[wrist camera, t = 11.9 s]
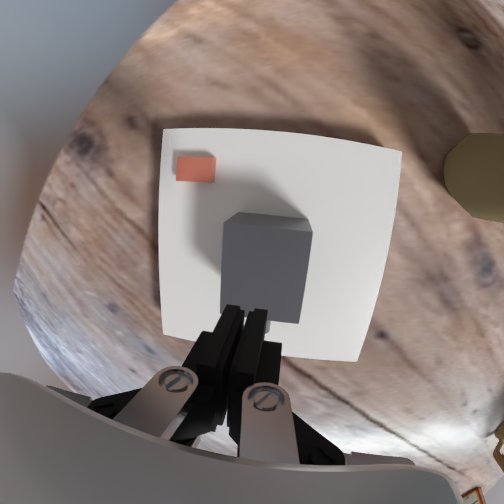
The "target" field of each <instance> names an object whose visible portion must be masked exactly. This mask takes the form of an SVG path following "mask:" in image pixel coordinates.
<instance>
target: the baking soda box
mask: <svg viewBox="0 0 504 504" xmlns="http://www.w3.org/2000/svg"><path fill="white" fill-rule="evenodd" d="M462 499H463V501H464V504H486V503H485V500H484V496H483V493H482V490H481V487H477V488H475V489H474V490H472V491H471V492H469V493H467V494H466V495H464V496H463V497H462Z"/></svg>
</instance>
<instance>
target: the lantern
mask: <svg viewBox="0 0 504 504" xmlns="http://www.w3.org/2000/svg"><path fill="white" fill-rule="evenodd" d="M495 436H496V438H498V439H499V442H498V444H497V446H496V448H495V450H494V452H493V457H494V458H495V460H496V461H497V463H498V464H499V466H500V467H501V469H502V471H503V472H504V455H503V454H502V455H501V454H500V448H501V447H502V445H503V444H504V422H503V423H502V424H501V425H500V426H499V428H498V429H497V431H496V433H495Z"/></svg>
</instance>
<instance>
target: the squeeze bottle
mask: <svg viewBox="0 0 504 504" xmlns="http://www.w3.org/2000/svg"><path fill="white" fill-rule="evenodd" d="M443 176H444V181H445V185H446V187H447V189H448V191H449V193H450V195H451V196H452V197H453V198H454V199H455V200H456V201H457V202H458V203H459V204H460V205H461V206H462V207H463V208H464V209H465V210H466V211H467V212H468V213H469V214H470V215H471V216H472V217H475V218H479V219H483V220H489V221H495V222H501V223H504V134H493V133H475V134H469V135H467V136H466V137H465V138H464V139H463V140H461V141H460V142H459V143H458V144H457V145H456V146H455V147H454V148H453V149H452V150H451V151H450V152H449V153H448V154H447V156H446V159H445V161H444V168H443Z"/></svg>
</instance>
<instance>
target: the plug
mask: <svg viewBox="0 0 504 504" xmlns="http://www.w3.org/2000/svg"><path fill="white" fill-rule="evenodd" d="M312 236H313V231H312V228H311V225H310V222H309V220H308V219H302V218H294V217H285V216H275V215H265V214H255V213H245V212H238V213H236V214H235V215H233V216H232V217H231V218H229V219H228V220H226V221H225V222H224V223H223V240H222V262H221V288H220V314H222V312H223V311H224V309H225V307H226V305H227V304H230V305H237V306H240V310H245V317H246V318H247V316H248V313H249V311H254V309H255V308H258V309H265V310H268V315H267V323H266V330H265V334H267V333H268V332H269V331H270V325H271V321H276V322H285V323H294V324H299V320H300V315H301V309H302V303H303V297H304V291H305V285H306V278H307V272H308V265H309V258H310V251H311V243H312Z"/></svg>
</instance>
